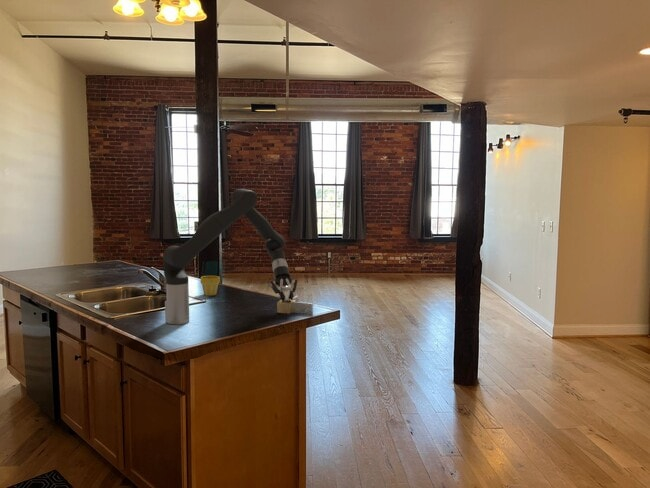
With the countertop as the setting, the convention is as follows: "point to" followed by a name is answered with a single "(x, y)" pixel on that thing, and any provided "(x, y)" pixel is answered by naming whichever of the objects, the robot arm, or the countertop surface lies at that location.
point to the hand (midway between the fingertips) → (287, 299)
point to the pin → (286, 293)
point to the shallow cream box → (294, 307)
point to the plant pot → (210, 284)
